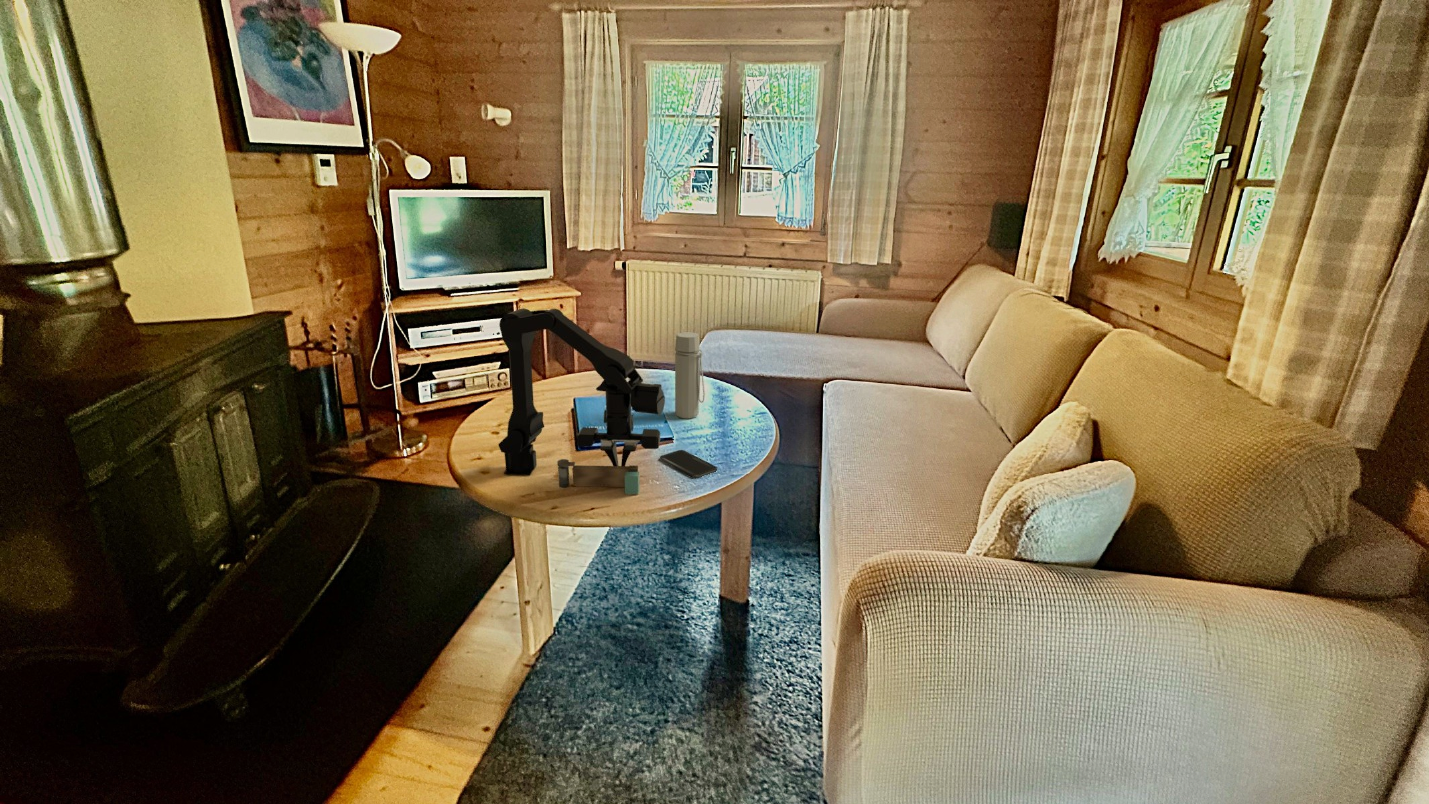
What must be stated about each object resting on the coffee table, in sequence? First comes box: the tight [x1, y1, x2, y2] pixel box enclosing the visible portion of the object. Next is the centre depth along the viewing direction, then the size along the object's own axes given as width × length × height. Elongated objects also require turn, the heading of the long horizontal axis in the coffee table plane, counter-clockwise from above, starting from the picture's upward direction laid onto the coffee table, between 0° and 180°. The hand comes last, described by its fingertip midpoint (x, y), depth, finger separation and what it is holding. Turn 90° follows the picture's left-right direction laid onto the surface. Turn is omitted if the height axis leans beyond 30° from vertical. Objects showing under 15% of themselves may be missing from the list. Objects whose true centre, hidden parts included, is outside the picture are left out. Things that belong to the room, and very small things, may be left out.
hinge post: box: [557, 466, 571, 489], centre depth 158 cm, size 2×2×5 cm
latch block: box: [624, 471, 640, 495], centre depth 156 cm, size 3×2×5 cm
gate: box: [557, 458, 639, 488], centre depth 158 cm, size 18×3×6 cm, turn 91°
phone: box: [659, 449, 718, 480], centre depth 171 cm, size 8×1×15 cm
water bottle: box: [674, 331, 706, 420], centre depth 200 cm, size 9×8×25 cm
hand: (619, 471), depth 160 cm, fingers closed
